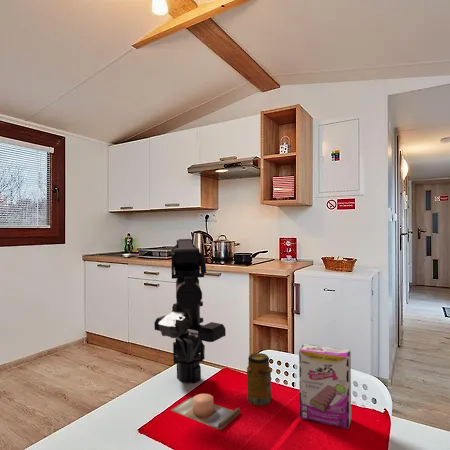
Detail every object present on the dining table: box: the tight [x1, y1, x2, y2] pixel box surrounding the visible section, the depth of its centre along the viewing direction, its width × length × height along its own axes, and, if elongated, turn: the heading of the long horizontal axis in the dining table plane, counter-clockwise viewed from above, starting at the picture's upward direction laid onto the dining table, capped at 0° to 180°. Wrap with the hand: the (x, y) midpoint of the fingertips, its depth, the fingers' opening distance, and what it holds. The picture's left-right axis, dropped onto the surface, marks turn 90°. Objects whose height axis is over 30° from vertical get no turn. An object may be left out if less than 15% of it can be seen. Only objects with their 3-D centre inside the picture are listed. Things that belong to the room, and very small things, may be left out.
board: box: [170, 395, 241, 431], centre depth 83 cm, size 15×8×2 cm, turn 56°
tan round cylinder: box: [193, 393, 214, 417], centre depth 84 cm, size 5×5×3 cm
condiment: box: [246, 352, 272, 407], centre depth 88 cm, size 7×8×12 cm
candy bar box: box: [298, 343, 352, 430], centre depth 80 cm, size 11×5×16 cm, turn 65°
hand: (189, 361), depth 86 cm, fingers closed
